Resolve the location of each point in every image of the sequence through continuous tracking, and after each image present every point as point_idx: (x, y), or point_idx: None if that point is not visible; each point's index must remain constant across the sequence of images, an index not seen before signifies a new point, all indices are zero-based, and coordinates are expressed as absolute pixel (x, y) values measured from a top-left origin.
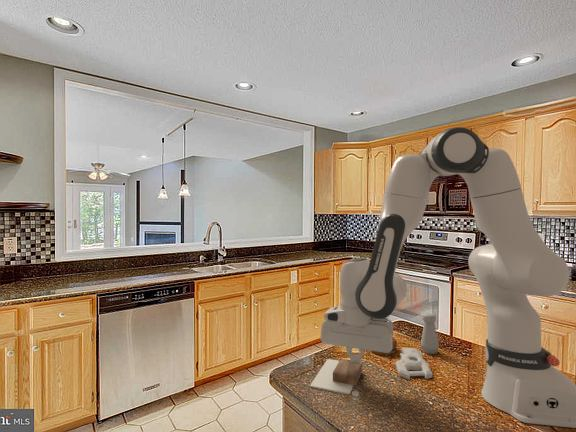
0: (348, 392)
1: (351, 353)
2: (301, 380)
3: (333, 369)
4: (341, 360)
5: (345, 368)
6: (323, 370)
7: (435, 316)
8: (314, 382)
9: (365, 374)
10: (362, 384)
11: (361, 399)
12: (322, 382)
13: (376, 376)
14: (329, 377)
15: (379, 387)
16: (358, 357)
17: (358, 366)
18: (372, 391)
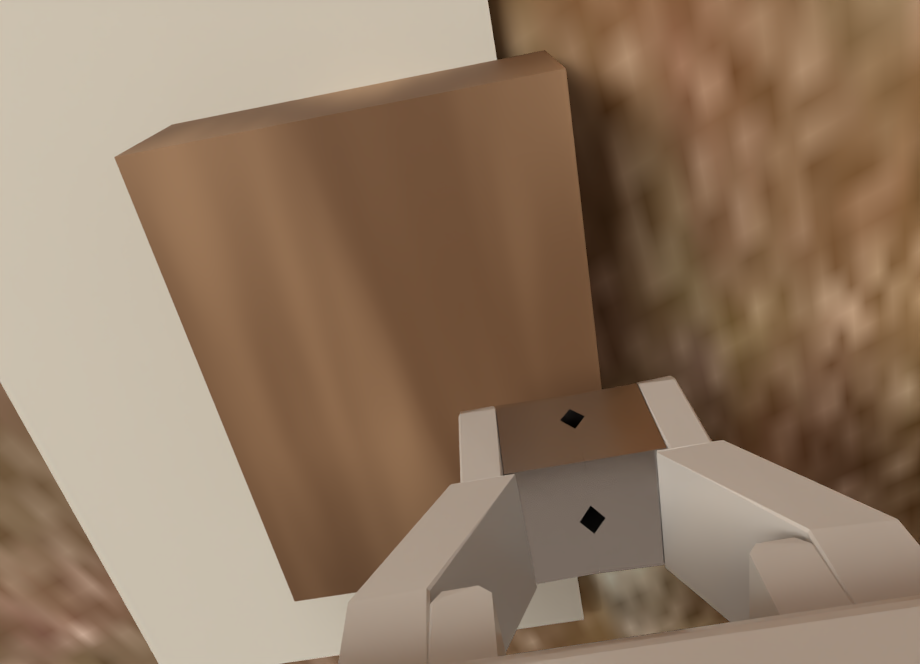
0: (569, 615)
1: (501, 598)
2: (9, 617)
3: (129, 252)
4: (158, 181)
5: (386, 419)
6: (35, 352)
7: None
8: (164, 625)
9: (617, 79)
10: (650, 372)
11: (709, 613)
12: (233, 587)
13: (801, 46)
14: (228, 466)
15: (869, 332)
16: (677, 572)
17: (556, 247)
18: (794, 450)
